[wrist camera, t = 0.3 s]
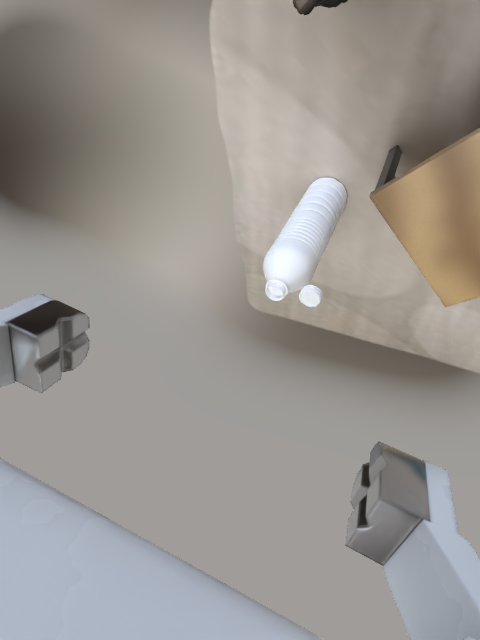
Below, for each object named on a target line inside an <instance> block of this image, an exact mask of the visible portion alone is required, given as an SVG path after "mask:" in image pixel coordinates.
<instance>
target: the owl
mask: <svg viewBox="0 0 480 640" xmlns="http://www.w3.org/2000/svg"><path fill="white" fill-rule="evenodd" d="M347 1H348V0H293V4H294V7H295V8H296V9H297V11H298V12H299V13H300V14H304V15H307V14H309V13H310V12H311V11H312V10H313V8H314V7H317V6H320V5H321V6H324V7H328V8H330V7H337V6H338V5H339V4H341V3H345V2H347Z"/></svg>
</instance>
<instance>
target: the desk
mask: <svg viewBox="0 0 480 640" xmlns="http://www.w3.org/2000/svg"><path fill="white" fill-rule="evenodd" d="M401 154H402V151H401V150H400V148H399V146H398V145H397V146H395V147H394V148H392V149H391V150H390V151H389V154H388V156H387V159H386V162H385V164H384V167H383V170H382V172H381V175H380V178H379V180H378V183H377V186H376V188H375V190H374V191H373V192H371V194H370V199H371V200H372V202H373V203H374V204H375V206H376V207H377V209H378V210H379V212H380V213H381V215H382V216H383V217H384V219H385V220H386V222H387V223H388V225H389V226H390V228H391V229H392V231H393V232H394V233H395V235H396V236H397V238H398V239H399V241H400V242H401V244H402V245H403V246H404V248H405V249H406V251H407V252H408V254H409V255H410V257H411V258H412V260H413V261H414V262H415V264H416V265H417V267H418V268H419V270H420V271H421V273H422V274H423V275H424V277H425V278H426V280H427V281H428V283H429V284H430V286H431V287H432V288H433V290H434V291H435V293H436V294H437V296H438V297H439V299H440V300H441V302H442V303H443V304H444V306H445V307H448V306H451V305H454V304H457V303H461V302H464V301H467V300H471V299H474V298H477V297H480V128H478V129H477V130H475V131H473V132H472V133H470V134H468V135H467V136H465V137H463V138H462V139H460V140H458V141H457V142H455V143H453V144H451V145H450V146H448V147H446V148H445V149H443V150H441V151H440V152H438V153H436V154H435V155H433V156H431V157H430V158H428V159H426V160H425V161H423V162H421V163H420V164H418V165H416V166H415V167H413V168H411V169H410V170H408V171H406V172H405V173H403V174H401V175H400V176H398V177H395V173H396V169H397V166H398V163H399V160H400V157H401Z"/></svg>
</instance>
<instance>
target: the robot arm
mask: <svg viewBox="0 0 480 640" xmlns="http://www.w3.org/2000/svg"><path fill="white" fill-rule="evenodd" d="M89 327H90V326H89V317H88V316H87V315H86V314H85V313H83V312H81V311H79V310H76V309H74V308H72V307H70V306H68V305H66V304H64V303H61V302H59V301H56V300H54V299H52V298H50V297H48V296H46V295H43V294H36V295H33V296H31V297H28V298H26V299H24V300H22V301H19V302H17V303H15V304H13V305H10V306H8V307H6V308H4V309H1V310H0V387H2V386H5V385H8V384H12V383H15V381H16V382H19V383H21V384H23V385H25V386H27V387H29V388H31V389H34V390H36V391H38V392H40V393H42V392H44V391H45V390H46V389H48V388H49V387H51V386H52V385H53V384H55V383H56V382H58V381H59V380H60V379H61V376H62V372H66V371H70V370H74V369H75V368H76V367H78V366H79V365H80V364H81V363H82V362H83V360H84V359H85V357H86V356H87V353H88V350H89V339H88V337H87V335H86V333H85V331H86V330H88V328H89ZM351 504H352V506H353V508H354V511H353V513H352V514H351V516H350V517H349V519H348V528H347V536H346V544H345V546H347V547H349V548H351V549H353V550H355V551H356V552H359V553H360V554H362V555H364V556H366V557H368V558H370V559H372V560H373V561H375V562H377V563H379V564H381V565H383V571H384V573H385V576H386V579H387V581H388V584H389V586H390V589H391V592H392V594H393V597H394V599H395V602H396V605H397V607H398V610H399V612H400V615H401V618H402V620H403V623H404V625H405V628H406V631H407V633H408V636H409V638H410V640H480V558H479V557H478V555H477V554H476V553H475V551H474V550H473V548H472V547H471V545H470V544H469V542H468V541H467V540H466V539H465V538H463V537H461V536H459V534H458V528H457V522H456V517H455V511H454V505H453V498H452V493H451V486H450V480H449V474H448V472H447V471H446V469H444V468H441V467H439V466H436V465H434V464H432V463H429V462H427V461H424V460H421V459H418V458H416V457H414V456H411V455H409V454H407V453H404V452H402V451H400V450H398V449H395V448H393V447H390V446H388V445H386V444H384V443H381V442H378V443H377V444H376V445H375V446H374V448H373V449H372V451H371V454H370V462H369V463H366V464H363V466H362V467H361V469H360V471H359V473H358V475H357V477H356V480H355V482H354V486H353V490H352V495H351ZM0 640H325V639H323V638H321V637H319V636H317V635H316V634H314V633H312V632H310V631H309V630H307V629H305V628H303V627H301V626H300V625H298V624H296V623H294V622H293V621H291V620H289V619H287V618H285V617H283V616H282V615H280V614H278V613H276V612H275V611H273V610H271V609H269V608H268V607H266V606H264V605H262V604H260V603H258V602H257V601H255V600H253V599H251V598H250V597H248V596H246V595H244V594H243V593H241V592H239V591H237V590H235V589H234V588H232V587H230V586H228V585H227V584H225V583H223V582H221V581H219V580H218V579H216V578H214V577H212V576H210V575H208V574H206V573H205V572H203V571H202V570H200V569H198V568H196V567H194V566H193V565H191V564H189V563H187V562H185V561H183V560H182V559H180V558H178V557H177V556H175V555H173V554H171V553H169V552H168V551H166V550H164V549H162V548H160V547H158V546H157V545H155V544H153V543H152V542H150V541H148V540H146V539H144V538H142V537H141V536H139V535H137V534H135V533H134V532H132V531H130V530H128V529H127V528H124V527H123V526H121V525H119V524H117V523H116V522H114V521H112V520H110V519H109V518H107V517H105V516H103V515H102V514H100V513H98V512H96V511H94V510H93V509H91V508H89V507H87V506H85V505H84V504H82V503H80V502H78V501H76V500H75V499H73V498H71V497H69V496H67V495H65V494H64V493H62V492H60V491H59V490H57V489H55V488H53V487H51V486H49V485H48V484H46V483H44V482H42V481H41V480H39V479H37V478H35V477H34V476H32V475H30V474H28V473H26V472H25V471H23V470H21V469H19V468H17V467H15V466H14V465H12V464H10V463H9V462H7V461H5V460H3V459H1V458H0Z"/></svg>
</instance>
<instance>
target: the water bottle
mask: <svg viewBox="0 0 480 640" xmlns="http://www.w3.org/2000/svg"><path fill="white" fill-rule="evenodd" d="M346 202H347V193H346V190H345V188H344V186H343V185H342V184H341V183H340V182H338V181H337V180H336V179H333V178H320V179H317V180H315V181H314V182H313V183H312V184H311V185H310V186H309V188H308V189H307V191H306V193H305V194H304V196H303V197H302V199H301V201H300V202H299V204H298V205H297V207H296V208H295V210H294V212H293V213H292V215H291V216H290V218H289V219H288V221H287V223H286V225H285V226H284V228H283V229H282V231H281V233H280V234H279V236H278V237H277V239H276V240H275V242H274V244H273V245H272V247H271V248H270V250H269V251H268V253H267V254H266V256H265V259H264V263H263V271H264V275H265V278H266V280H267V284H266V295H267V296H268V297H269V298H270V299H272V300H275V301H278V300H281V299H283V297H285V296H286V295H287V293H291V292H296V291H298V290H301V289H302V290H301V292H300V294H299V299H300V301H301V302H302V303H303V304H304V305H306V306H309V307H314V306H317V305H319V303H320V301H321V299H322V292H321V290H320V289H319V288H318V287H316V286H313V285H307V284H308V283H309V282H310V281H311V279H312V277H313V275H314V272H315V270H316V268H317V265H318V263H319V261H320V259H321V257H322V254H323V252H324V250H325V248H326V246H327V244H328V242H329V240H330V237H331V236H332V233H333V231H334V229H335V227H336V224H337V222H338V220H339V218H340V216H341V214H342V211H343V210H344V207H345V205H346ZM306 285H307V286H306ZM319 291H320V292H319Z"/></svg>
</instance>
